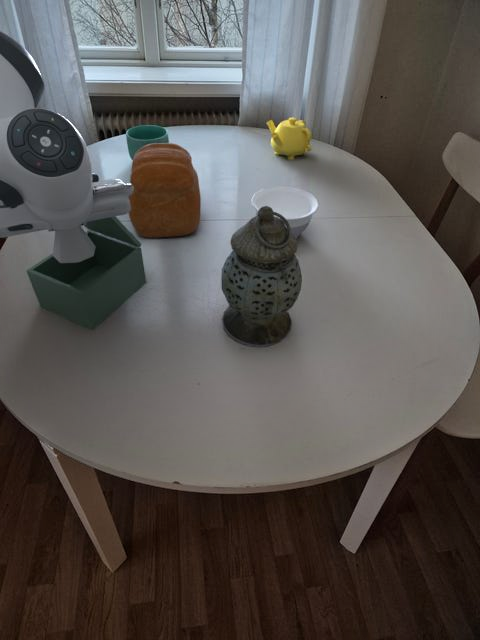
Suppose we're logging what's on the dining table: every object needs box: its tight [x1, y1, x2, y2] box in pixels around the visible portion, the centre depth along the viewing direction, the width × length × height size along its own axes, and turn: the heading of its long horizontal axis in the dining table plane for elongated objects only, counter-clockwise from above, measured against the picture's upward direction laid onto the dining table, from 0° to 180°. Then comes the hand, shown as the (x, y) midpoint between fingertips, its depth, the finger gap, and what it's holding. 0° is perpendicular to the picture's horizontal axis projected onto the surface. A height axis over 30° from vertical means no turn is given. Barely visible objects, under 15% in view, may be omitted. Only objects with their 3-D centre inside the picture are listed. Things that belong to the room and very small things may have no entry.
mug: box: [125, 124, 170, 161], centre depth 131 cm, size 17×13×10 cm
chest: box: [25, 229, 148, 331], centre depth 85 cm, size 17×14×9 cm
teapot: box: [266, 117, 313, 160], centre depth 140 cm, size 14×14×11 cm
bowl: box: [250, 185, 319, 240], centre depth 104 cm, size 16×16×9 cm
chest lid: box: [83, 172, 143, 248], centre depth 80 cm, size 17×14×5 cm
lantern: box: [220, 206, 303, 348], centre depth 75 cm, size 14×14×25 cm
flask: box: [52, 226, 96, 263], centre depth 71 cm, size 7×7×10 cm
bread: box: [128, 142, 202, 238], centre depth 106 cm, size 18×21×17 cm
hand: (66, 223), depth 72 cm, fingers closed on flask, 3 cm apart
